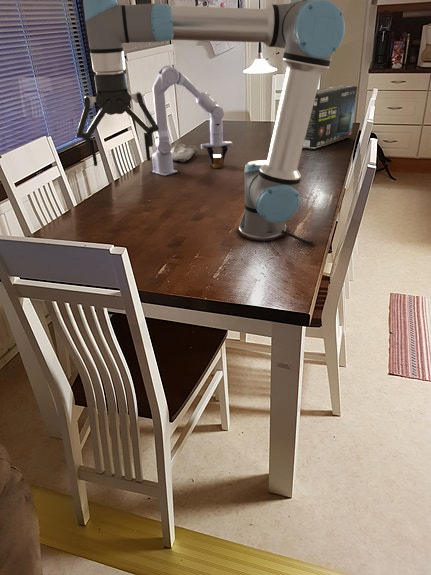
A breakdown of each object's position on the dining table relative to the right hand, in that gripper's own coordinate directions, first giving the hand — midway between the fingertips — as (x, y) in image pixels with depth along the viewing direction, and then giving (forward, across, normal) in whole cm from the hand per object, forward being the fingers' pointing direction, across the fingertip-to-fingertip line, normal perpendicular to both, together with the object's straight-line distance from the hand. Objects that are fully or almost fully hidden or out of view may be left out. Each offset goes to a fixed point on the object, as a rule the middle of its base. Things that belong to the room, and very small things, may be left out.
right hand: (122, 162), depth 119 cm
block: (+29, -45, -86) cm, 102 cm away
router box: (+30, -110, -108) cm, 157 cm away
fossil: (+30, -30, -107) cm, 115 cm away
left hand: (+28, -45, -86) cm, 101 cm away
